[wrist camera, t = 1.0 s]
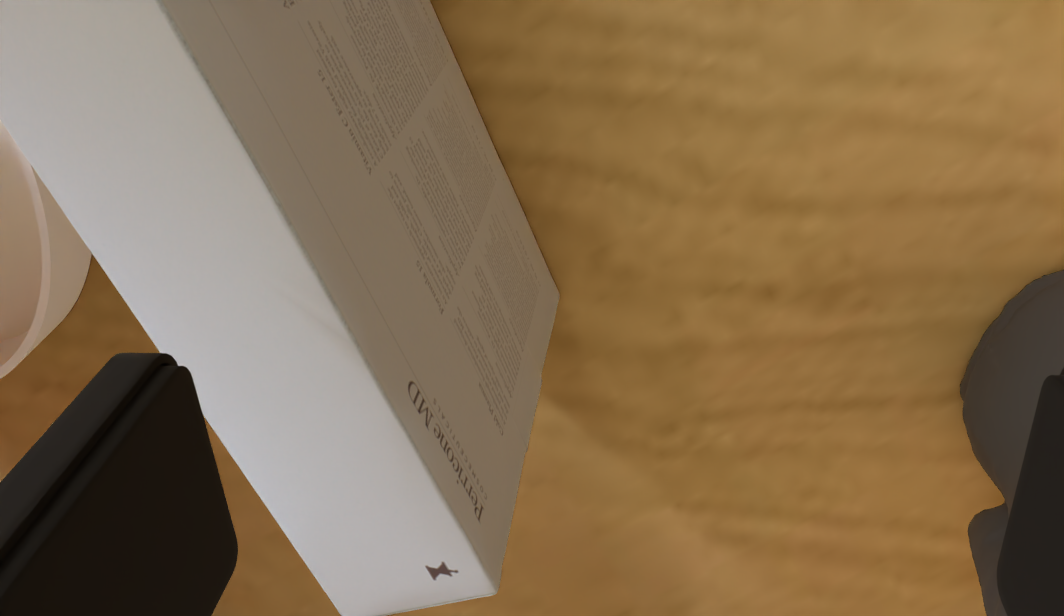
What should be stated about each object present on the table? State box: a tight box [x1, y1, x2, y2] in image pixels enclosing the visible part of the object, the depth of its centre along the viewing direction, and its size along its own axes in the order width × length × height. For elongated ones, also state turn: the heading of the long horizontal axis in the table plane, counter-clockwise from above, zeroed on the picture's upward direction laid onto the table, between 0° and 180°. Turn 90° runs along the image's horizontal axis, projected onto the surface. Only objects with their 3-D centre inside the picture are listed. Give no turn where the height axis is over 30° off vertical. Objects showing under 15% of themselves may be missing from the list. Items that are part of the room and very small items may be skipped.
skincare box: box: [0, 0, 560, 616], centre depth 28 cm, size 21×5×16 cm, turn 22°
